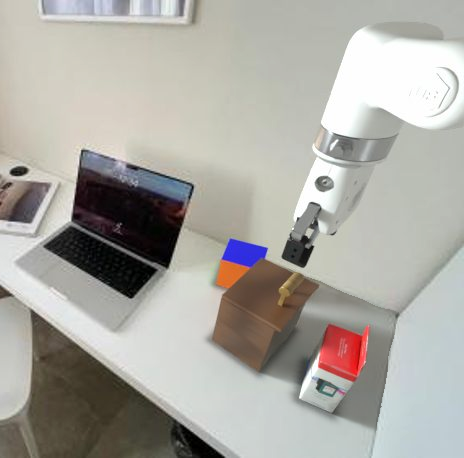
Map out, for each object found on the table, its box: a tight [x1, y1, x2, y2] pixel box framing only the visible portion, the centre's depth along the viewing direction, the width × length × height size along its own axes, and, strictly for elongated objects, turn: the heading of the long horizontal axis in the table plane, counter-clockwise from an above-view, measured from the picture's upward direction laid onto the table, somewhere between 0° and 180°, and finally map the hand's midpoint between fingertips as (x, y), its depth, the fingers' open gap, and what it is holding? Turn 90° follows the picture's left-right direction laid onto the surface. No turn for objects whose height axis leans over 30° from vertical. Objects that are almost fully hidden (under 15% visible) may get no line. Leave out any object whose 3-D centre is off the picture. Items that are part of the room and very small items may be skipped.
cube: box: [215, 237, 269, 289], centre depth 81 cm, size 8×8×8 cm
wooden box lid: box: [221, 258, 320, 332], centre depth 62 cm, size 10×14×5 cm
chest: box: [211, 297, 306, 373], centre depth 68 cm, size 10×14×13 cm
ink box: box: [299, 323, 371, 414], centre depth 58 cm, size 8×5×15 cm, turn 144°
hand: (308, 246), depth 54 cm, fingers open, 9 cm apart
